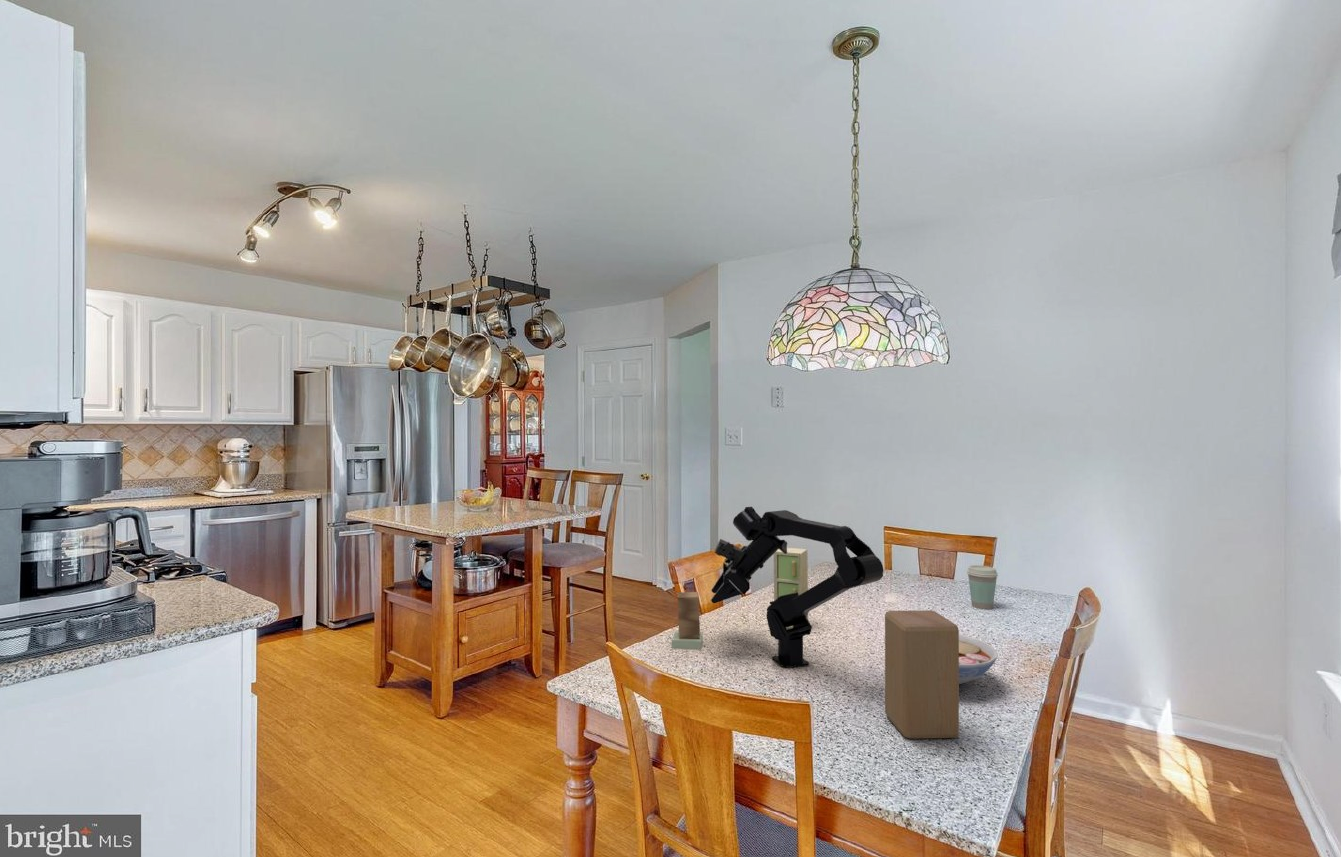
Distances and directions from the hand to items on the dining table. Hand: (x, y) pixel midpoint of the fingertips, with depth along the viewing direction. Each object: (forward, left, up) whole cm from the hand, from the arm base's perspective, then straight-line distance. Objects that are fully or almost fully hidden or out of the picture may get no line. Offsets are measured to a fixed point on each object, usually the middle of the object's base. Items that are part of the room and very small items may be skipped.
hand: (712, 596), depth 151 cm
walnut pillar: (+3, +5, -10) cm, 11 cm away
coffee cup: (+16, -93, -13) cm, 96 cm away
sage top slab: (+2, +6, -12) cm, 13 cm away
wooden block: (-47, -24, -13) cm, 54 cm away
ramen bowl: (-29, -42, -13) cm, 53 cm away
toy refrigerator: (+13, -27, -13) cm, 33 cm away
